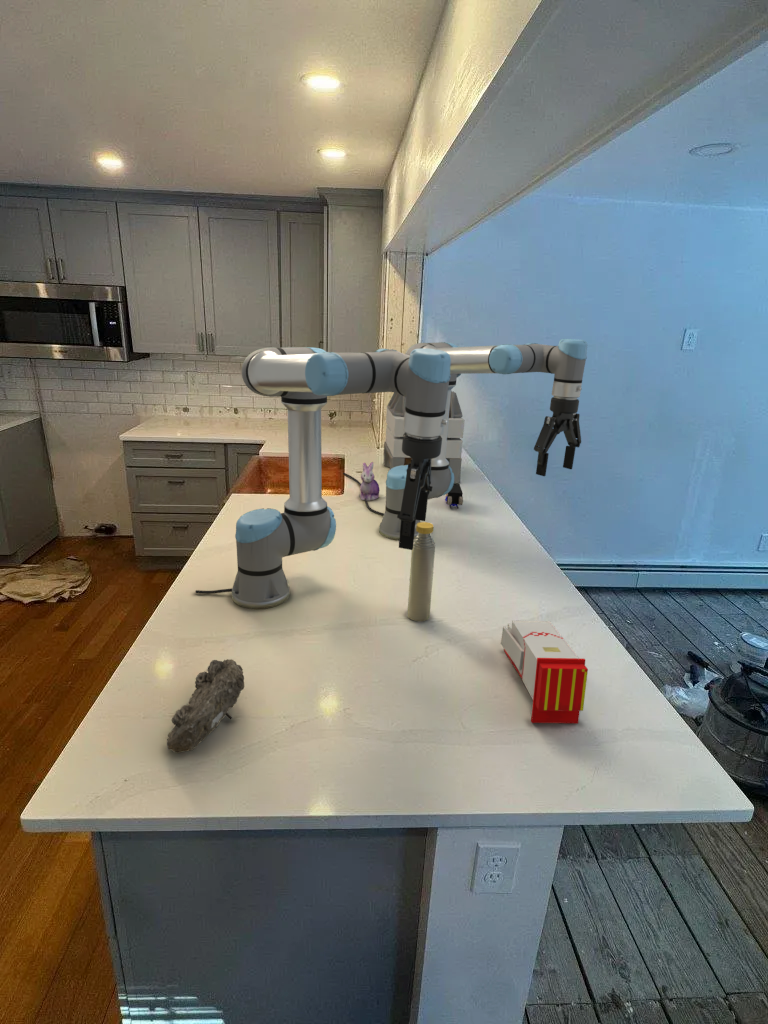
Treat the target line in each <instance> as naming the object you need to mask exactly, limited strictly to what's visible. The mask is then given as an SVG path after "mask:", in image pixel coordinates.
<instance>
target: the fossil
mask: <svg viewBox="0 0 768 1024" xmlns="http://www.w3.org/2000/svg"><path fill="white" fill-rule="evenodd" d="M243 670H244V669H243V667H242V665H240V664H237V662H236V661H235V660H234V659H232V658H231V659H227V658H226V659H224V660H223V661H222V660H217V659H212V660H211V661H210V663H209V665H208V666H207V671H201V672H199V673H198V674H197V675H196V676H195V680H194V684H195V685H194V687H195V689H194V690H193V693H192V694H191V697H190V698H189V700H188V704H184V705H182V706H181V707H180V709H177V710H176V711H175V713H174V715H173V716H172V718H171V723H172V724H173V727H172V730H171V731H170V732H168V734H167V738H166V741H167V742H166V745H167V749H168V750H169V751H173V752H174V753H176V754H178V753H182V752H188V751H189V752H192V751H193V750H195V748H196V747H197V746H199V744H200V743H201V742H203V741H204V740H205V739H206V738H207V737H208V736H209V735H210V734H211V733H212V732H214V730H215V729H217V727H218V726H219V724H220V722H221V721H222V720H223V719H224V718H225V716H226V717H227V719H229V720H233V717H232V715H230V714H229V710H230V709H231V708H234V706H235V704H236V703H237V702H238V699H239V697H240V695H241V693H242V691H243V690H245V689H244V688H245V675H244V671H243Z"/></svg>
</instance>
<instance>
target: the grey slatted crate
mask: <svg viewBox="0 0 768 1024" xmlns="http://www.w3.org/2000/svg"><path fill="white" fill-rule="evenodd" d="M405 406H406V397H405V396H402V395H400V394H397V393H394V392H393V394H392V395H391V398H390V400H389V402H388V404H387V405H386V413H385V414H386V415H385V423H386V428H385V438H384V442H383V466H384V467H388V468H389V470H390V469H392V468H394V467H396V466H401V465H404V466H405V465H408V464H409V463H411V459H412V458H411V457H409V456H407V455H405V454H404V453H403V452H402V441H403V434H404V433H405V432H404V430H403V426H404V415H405ZM464 429H465V419H464V418H463V411H462V408H461V405H460V402H459V398H458V395H457V392H455V391H453V390H451V396H450V408H449V420H448V431H447V443H446V455H445V458H446V459H447V461H448V462H449V466H450V467H451V469H452V473H454V483H455V484H460V483H461V472H462V461H463V460H462V453H463V442H464V441H463V440H462V439H463V438H464V431H465V430H464Z"/></svg>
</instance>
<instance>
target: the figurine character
mask: <svg viewBox="0 0 768 1024" xmlns="http://www.w3.org/2000/svg"><path fill="white" fill-rule="evenodd" d="M463 494H464V493H463V490H462V487H461V485H460V483H454V484H453V487H452V489H451V490H450V491H449V492H448V493H447V494H445V499H444V501H445V502H446V504H447V506H449V509H450V510H451V509H452V507H455V508H456V509H457V510H458V509H459V506H463V503H464V497H463Z"/></svg>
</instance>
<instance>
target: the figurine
mask: <svg viewBox="0 0 768 1024" xmlns="http://www.w3.org/2000/svg"><path fill="white" fill-rule="evenodd" d="M373 469H374V462H373V461H372V462H370V463H369V464H368V465H367V464H366V462H363V463H362V473H361V474H360V479H361V482H360V483H361V486H360V485H359V486H360V487H359V491H360V494H359V498H360V500H361V501H365V500H364V499H365V498H366V499H367V502H369V501H374V500H377V499H379V497H380V491H381V490H380V485H379V483H378V481H377V480H376V479H375V474H374V472H373Z"/></svg>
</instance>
